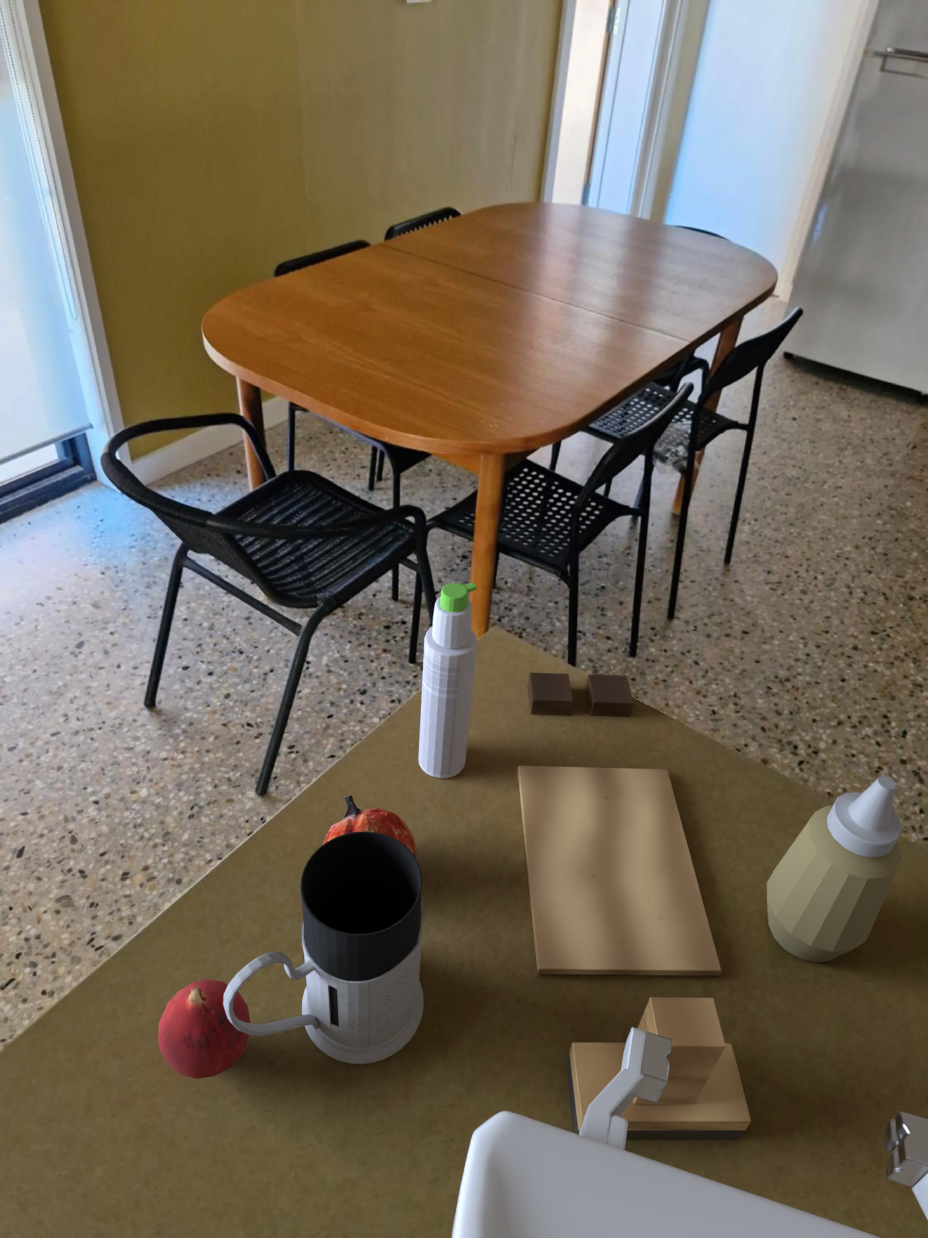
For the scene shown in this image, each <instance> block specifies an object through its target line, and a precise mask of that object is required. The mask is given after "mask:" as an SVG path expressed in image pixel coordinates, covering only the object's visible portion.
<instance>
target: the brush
mask: <svg viewBox="0 0 928 1238" xmlns="http://www.w3.org/2000/svg"><path fill="white" fill-rule="evenodd" d="M637 1028H638V1029H641V1030H644V1031H647V1032H650V1033H654V1034H657V1035H660V1036H663V1037H666V1038H669V1039H671V1040H672V1046H671V1053H670V1055H669V1057H668V1059H667V1060H668V1062H669V1073H668V1081H667V1084H666V1086H665V1088H664V1090H662V1092H661V1097H660V1099H659V1101H658V1103H654V1102H651V1101H648V1100H644V1099H641V1098H638V1097H635V1099H634V1100H633V1101H632V1102H631V1103H630V1105H629V1106H628V1107H627V1108H626V1109H625V1110H624V1112H623V1113H622V1114H621V1115H620V1116H619V1117H622V1118H625V1119H626V1121H627V1122H628V1127H627V1135H626V1141H632V1140H633V1141H634V1140H635V1141H636V1140H637V1141H640V1140H641V1141H644V1140H645V1141H651V1140H652V1141H657V1140H658V1141H666V1140H667V1141H675V1140H676V1141H681V1140H682V1141H687V1140H688V1141H692V1140H693V1141H695V1140H696V1141H697V1140H698V1141H706V1140H707V1141H712V1140H713V1141H715V1140H717V1141H720V1140H721V1141H722V1140H723V1141H728V1140H729V1141H734V1140H737V1141H739V1140H740V1139H741V1137H742V1136H743V1134H744V1133H745V1131H746V1130H747V1128H748V1127H749V1125H750V1123H751V1122H752V1119H751V1114H750V1111H749V1107H748V1103H747V1099H746V1096H745V1092H744V1087H743V1084H742V1080H741V1076H740V1071H739V1069H738V1064H737V1060H736V1057H735V1053H734V1048H733V1046H732V1043H728V1042H727V1043H725V1039H724V1035H723V1030H722V1027H721V1022H720V1018H719V1015H718V1010H717V1007H716V1003H715V999H714V997H663V996H661V997H659V996H658V997H657V996H656V997H655V996H654V997H653V996H651V997H649V999H648V1002H647V1004H646V1006H645V1009H644V1011H643V1014H642V1016H641V1019H640V1021H639V1024H638V1026H637ZM625 1045H626V1042H578V1041H577V1042H575V1041H574V1042H572V1043H571V1046H570V1050H569V1053H568V1056H567V1059H566V1071H567V1081H568V1089H569V1099H570V1107H571V1115H572V1116H571V1117H572V1124H573V1133H575V1134H578V1135H579V1131H580V1128H581V1125H582V1123H583V1120H584V1117H585V1114H586V1112H587V1109H588V1106H589V1105H590V1104H591V1102H592V1101H593V1100H594V1099H595V1098H596V1097H597V1096H598V1095H599V1094H600V1093H601V1092H602V1091H603V1090H604V1088H605V1087H606V1086H607V1085H608V1084H609V1083H610V1082H611V1081H612V1080H613V1079H614V1078H615V1077H616V1076H617V1074H618V1073H619V1072H620V1071H621V1067H622V1060H623V1054H624V1049H625Z"/></svg>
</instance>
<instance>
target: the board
mask: <svg viewBox="0 0 928 1238" xmlns="http://www.w3.org/2000/svg"><path fill="white" fill-rule="evenodd" d="M517 780H518V791H519V800H520V811H521V820H522V821H521V822H522V832H523V839H524V840H523V841H524V852H525V861H526V872H527V883H528V893H529V904H530V913H531V922H532V923H531V924H532V933H533V944H534V945H533V946H534V953H535V954H534V955H535V964H536V965H535V967H536V973H537V975H582V976H583V975H588V976H589V975H590V976H591V975H594V976H595V975H597V976H599V975H600V976H601V975H602V976H691V977H692V976H693V977H694V976H697V977H698V976H700V977H701V976H702V977H703V976H705V977H709V976H710V977H712V976H714V977H718V976H720V975H721V972H722V967H721V964H720V960H719V956H718V953H717V949H716V945H715V942H714V938H713V934H712V931H711V926H710V923H709V919H708V916H707V911H706V908H705V905H704V900H703V897H702V893H701V889H700V886H699V882H698V877H697V875H696V871H695V867H694V863H693V860H692V856H691V853H690V849H689V845H688V841H687V836H686V833H685V830H684V827H683V826H684V825H683V823H682V819H681V815H680V811H679V807H678V804H677V800H676V797H675V794H674V793H675V792H674V788H673V786H672V782H671V778H670V773H669V771H668V769H666V768H634V767H633V768H632V767H631V768H628V767H626V768H625V767H592V766H591V767H589V766H588V767H587V766H548V765H547V766H546V765H544V766H543V765H518V767H517Z"/></svg>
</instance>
